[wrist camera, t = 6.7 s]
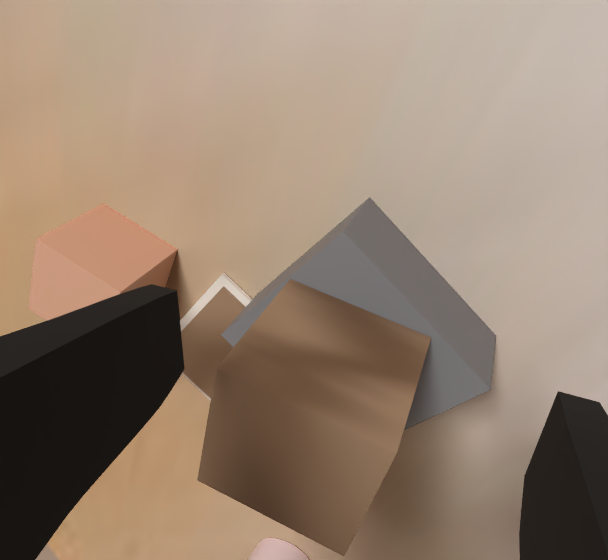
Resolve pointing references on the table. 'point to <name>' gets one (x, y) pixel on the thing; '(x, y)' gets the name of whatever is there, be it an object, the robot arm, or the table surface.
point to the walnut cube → (311, 412)
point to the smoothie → (276, 551)
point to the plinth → (394, 305)
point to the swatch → (210, 331)
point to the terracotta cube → (95, 262)
